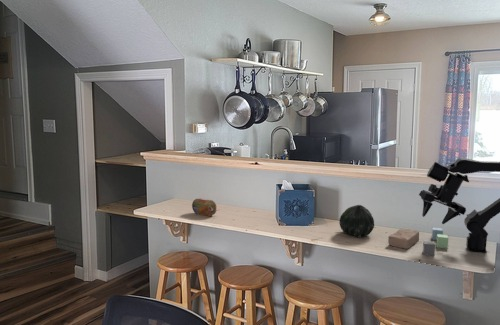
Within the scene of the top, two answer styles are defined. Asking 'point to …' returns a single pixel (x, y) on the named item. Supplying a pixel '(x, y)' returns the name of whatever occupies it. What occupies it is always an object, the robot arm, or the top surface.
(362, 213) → the squash
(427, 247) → the charcoal block
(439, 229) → the bluegrey block
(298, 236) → the top surface
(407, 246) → the brick
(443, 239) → the green block
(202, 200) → the tin
